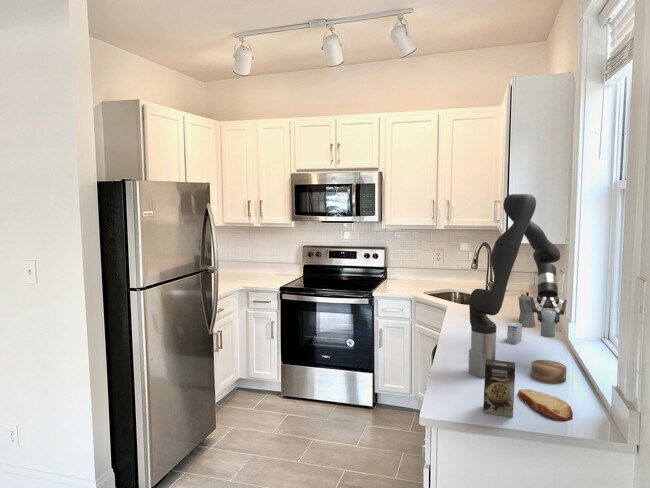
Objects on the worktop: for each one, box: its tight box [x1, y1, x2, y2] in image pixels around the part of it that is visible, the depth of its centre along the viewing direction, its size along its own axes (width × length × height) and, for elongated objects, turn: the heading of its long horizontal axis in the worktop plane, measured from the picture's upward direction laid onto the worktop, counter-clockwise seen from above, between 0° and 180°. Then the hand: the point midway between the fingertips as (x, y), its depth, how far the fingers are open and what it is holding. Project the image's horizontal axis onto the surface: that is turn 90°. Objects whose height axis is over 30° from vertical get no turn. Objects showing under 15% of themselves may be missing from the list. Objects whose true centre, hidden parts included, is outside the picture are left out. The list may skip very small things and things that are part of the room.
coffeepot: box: [517, 292, 536, 329], centre depth 256 cm, size 15×9×18 cm, turn 176°
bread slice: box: [516, 388, 574, 422], centre depth 156 cm, size 18×18×4 cm
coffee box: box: [482, 359, 516, 418], centre depth 152 cm, size 9×6×16 cm
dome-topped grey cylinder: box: [540, 309, 556, 339], centre depth 188 cm, size 5×5×10 cm
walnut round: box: [530, 359, 567, 384], centre depth 181 cm, size 12×12×5 cm
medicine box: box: [506, 321, 523, 345], centre depth 226 cm, size 8×4×9 cm, turn 141°
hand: (548, 321), depth 187 cm, fingers closed on dome-topped grey cylinder, 5 cm apart
